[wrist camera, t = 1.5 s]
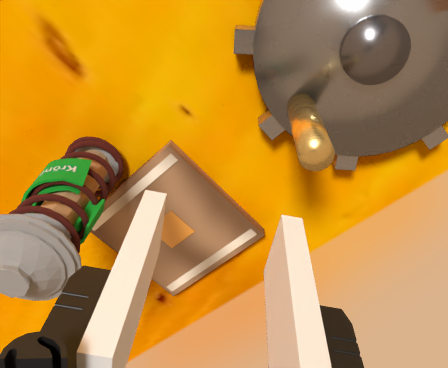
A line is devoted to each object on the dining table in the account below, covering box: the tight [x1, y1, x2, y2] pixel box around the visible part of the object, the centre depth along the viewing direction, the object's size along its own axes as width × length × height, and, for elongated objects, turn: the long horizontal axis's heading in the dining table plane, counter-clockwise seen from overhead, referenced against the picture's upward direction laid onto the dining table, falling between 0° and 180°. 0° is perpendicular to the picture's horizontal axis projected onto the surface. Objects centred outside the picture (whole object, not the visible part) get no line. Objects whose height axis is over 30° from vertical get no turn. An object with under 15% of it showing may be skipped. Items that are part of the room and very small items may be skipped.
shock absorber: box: [0, 137, 123, 301], centre depth 28 cm, size 6×6×15 cm
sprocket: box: [234, 0, 448, 171], centre depth 24 cm, size 19×19×10 cm
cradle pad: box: [90, 141, 264, 296], centre depth 37 cm, size 12×12×1 cm
